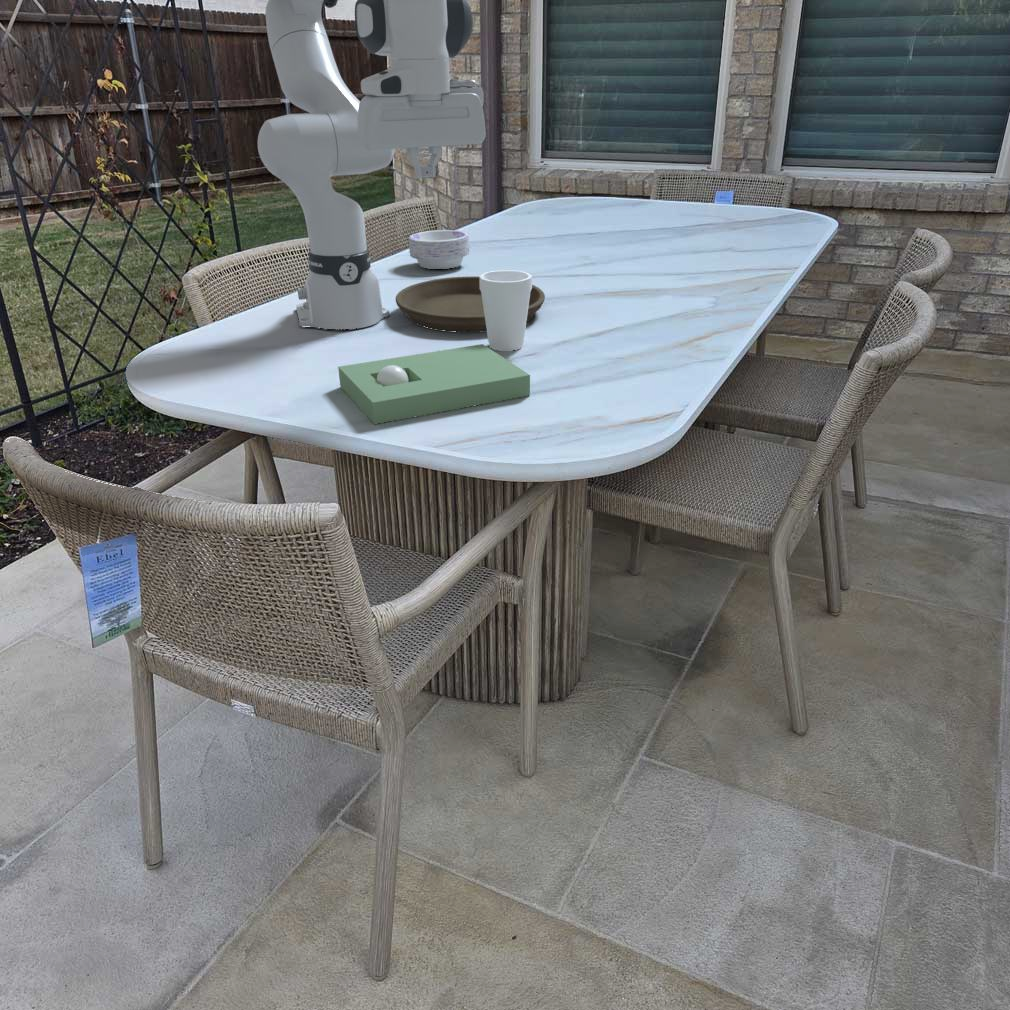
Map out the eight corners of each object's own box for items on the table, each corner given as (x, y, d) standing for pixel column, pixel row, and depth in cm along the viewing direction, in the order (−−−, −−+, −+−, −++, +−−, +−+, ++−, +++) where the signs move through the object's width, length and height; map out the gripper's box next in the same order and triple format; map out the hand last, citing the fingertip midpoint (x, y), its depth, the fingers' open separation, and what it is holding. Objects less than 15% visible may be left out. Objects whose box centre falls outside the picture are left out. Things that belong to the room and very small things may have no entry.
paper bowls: (402, 263, 222) (400, 232, 218) (456, 257, 227) (455, 227, 224) (422, 276, 210) (420, 242, 206) (479, 269, 215) (478, 237, 211)
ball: (391, 357, 136) (405, 383, 139) (366, 373, 135) (380, 400, 137) (404, 361, 132) (418, 388, 135) (378, 378, 131) (393, 405, 133)
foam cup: (530, 338, 164) (530, 269, 158) (532, 353, 156) (533, 281, 150) (480, 339, 164) (479, 270, 158) (480, 354, 156) (479, 282, 150)
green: (340, 386, 141) (338, 366, 140) (482, 363, 151) (482, 344, 150) (374, 424, 127) (372, 402, 125) (529, 395, 137) (530, 374, 135)
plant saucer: (530, 341, 163) (530, 317, 161) (376, 333, 169) (374, 310, 167) (555, 299, 190) (555, 278, 188) (421, 293, 196) (420, 273, 194)
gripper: (474, 78, 136) (476, 171, 142) (350, 81, 128) (358, 179, 135) (491, 79, 131) (492, 175, 137) (363, 82, 123) (370, 184, 130)
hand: (425, 177), depth 136 cm, fingers closed
